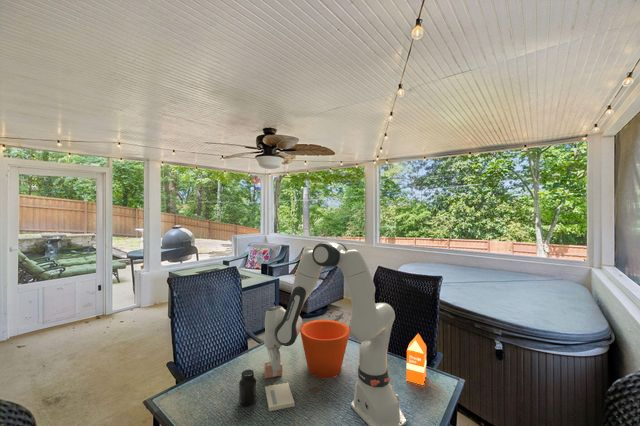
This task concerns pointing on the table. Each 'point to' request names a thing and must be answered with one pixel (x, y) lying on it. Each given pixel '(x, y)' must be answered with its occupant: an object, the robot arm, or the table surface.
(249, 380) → the supplement bottle
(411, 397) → the table surface
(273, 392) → the cream flat block
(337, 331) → the flowerpot
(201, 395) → the table surface
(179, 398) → the table surface
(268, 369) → the pink box
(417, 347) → the orange juice
